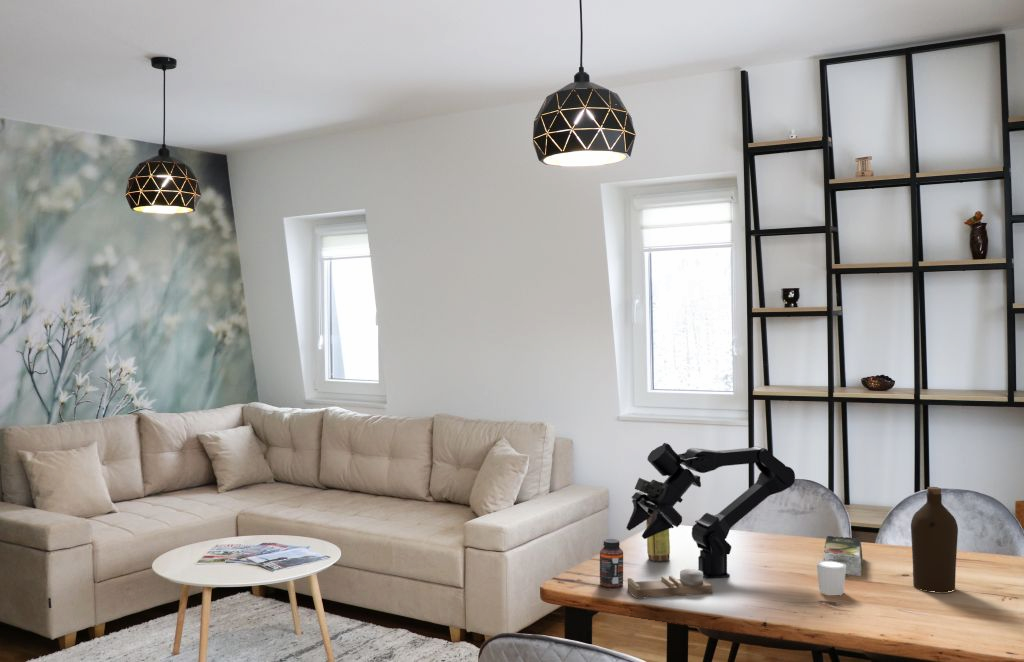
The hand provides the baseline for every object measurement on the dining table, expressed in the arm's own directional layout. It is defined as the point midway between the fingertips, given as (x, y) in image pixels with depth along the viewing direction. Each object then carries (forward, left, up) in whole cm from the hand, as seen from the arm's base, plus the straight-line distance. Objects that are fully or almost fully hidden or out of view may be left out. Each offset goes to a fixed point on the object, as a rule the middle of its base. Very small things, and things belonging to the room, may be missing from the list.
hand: (635, 533), depth 225 cm
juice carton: (-61, -3, -13) cm, 62 cm away
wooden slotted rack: (-6, +9, -13) cm, 17 cm away
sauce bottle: (-13, -19, -13) cm, 27 cm away
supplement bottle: (+7, +1, -13) cm, 14 cm away
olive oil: (-71, +20, -13) cm, 75 cm away
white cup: (-44, +18, -13) cm, 49 cm away
